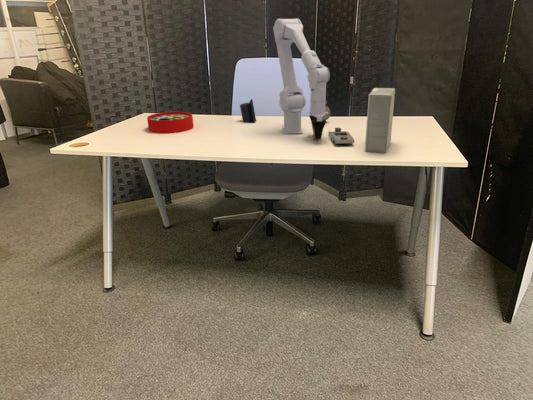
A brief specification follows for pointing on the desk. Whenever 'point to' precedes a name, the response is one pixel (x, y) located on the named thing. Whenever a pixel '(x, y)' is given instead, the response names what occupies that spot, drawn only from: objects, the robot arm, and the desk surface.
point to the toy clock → (170, 122)
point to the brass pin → (314, 136)
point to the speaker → (248, 112)
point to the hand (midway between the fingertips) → (317, 135)
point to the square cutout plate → (341, 137)
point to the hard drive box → (379, 119)
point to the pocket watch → (327, 114)
